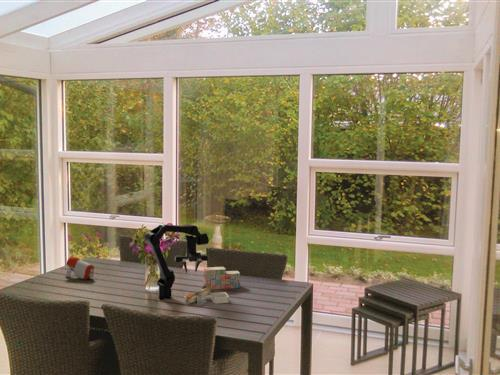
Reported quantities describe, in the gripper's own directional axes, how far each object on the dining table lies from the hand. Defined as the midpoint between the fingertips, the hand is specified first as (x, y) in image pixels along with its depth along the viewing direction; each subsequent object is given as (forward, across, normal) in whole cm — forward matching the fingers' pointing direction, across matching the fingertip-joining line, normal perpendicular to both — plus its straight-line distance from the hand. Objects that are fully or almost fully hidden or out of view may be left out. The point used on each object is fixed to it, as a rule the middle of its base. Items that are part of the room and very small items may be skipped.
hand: (191, 272), depth 302 cm
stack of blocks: (+12, +20, +6) cm, 24 cm away
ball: (+8, -4, -18) cm, 20 cm away
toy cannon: (+12, -64, +43) cm, 78 cm away
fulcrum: (+12, +1, -18) cm, 22 cm away
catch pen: (+12, +14, -18) cm, 25 cm away
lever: (+10, +1, -14) cm, 17 cm away
